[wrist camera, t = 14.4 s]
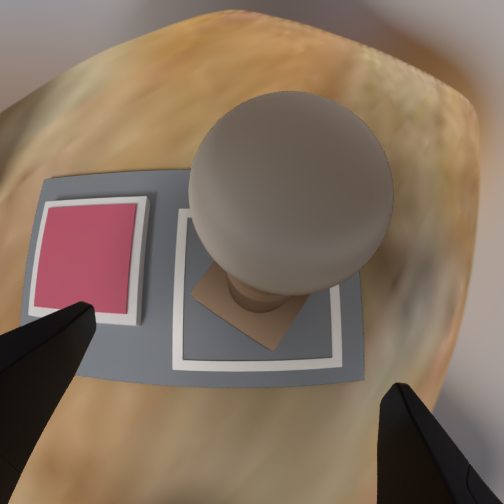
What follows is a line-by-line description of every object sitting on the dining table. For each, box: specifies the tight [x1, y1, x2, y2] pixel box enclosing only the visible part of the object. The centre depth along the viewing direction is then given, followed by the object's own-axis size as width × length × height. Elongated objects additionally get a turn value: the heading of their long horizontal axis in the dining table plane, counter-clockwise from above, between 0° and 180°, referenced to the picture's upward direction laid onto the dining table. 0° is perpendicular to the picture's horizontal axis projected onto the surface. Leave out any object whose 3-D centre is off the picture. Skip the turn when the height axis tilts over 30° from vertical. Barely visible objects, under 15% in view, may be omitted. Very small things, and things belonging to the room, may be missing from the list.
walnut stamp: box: [188, 91, 394, 351], centre depth 12 cm, size 5×5×15 cm
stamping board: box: [20, 169, 364, 388], centre depth 19 cm, size 14×23×2 cm, turn 90°
